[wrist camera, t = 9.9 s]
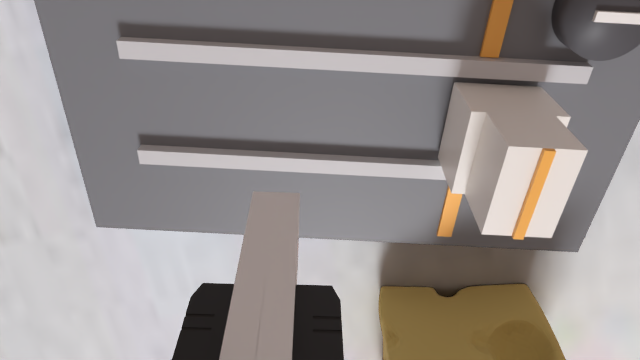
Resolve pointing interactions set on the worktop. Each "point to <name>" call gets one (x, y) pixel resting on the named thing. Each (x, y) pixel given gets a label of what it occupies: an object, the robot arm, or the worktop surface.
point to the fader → (510, 157)
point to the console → (327, 107)
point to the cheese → (465, 324)
